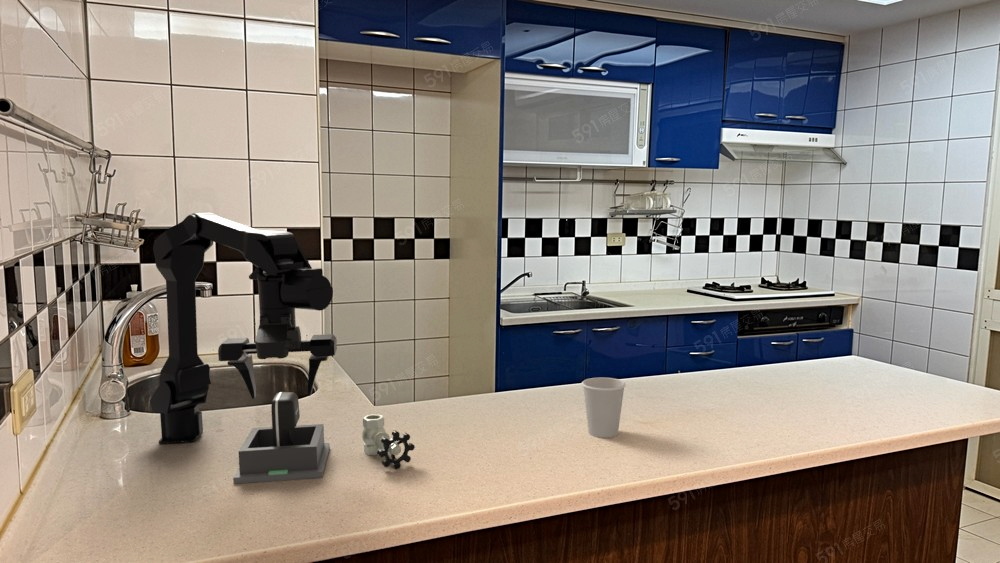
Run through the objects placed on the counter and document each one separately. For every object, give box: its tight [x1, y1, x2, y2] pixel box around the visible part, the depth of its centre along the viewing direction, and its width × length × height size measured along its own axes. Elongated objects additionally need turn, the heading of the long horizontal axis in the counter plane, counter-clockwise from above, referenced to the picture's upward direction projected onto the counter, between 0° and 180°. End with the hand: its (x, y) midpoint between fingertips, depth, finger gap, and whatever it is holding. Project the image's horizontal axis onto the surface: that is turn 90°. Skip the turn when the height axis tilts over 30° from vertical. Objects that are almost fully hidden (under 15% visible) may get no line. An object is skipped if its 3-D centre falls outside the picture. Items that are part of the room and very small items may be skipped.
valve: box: [361, 413, 416, 470], centre depth 124 cm, size 7×7×12 cm
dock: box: [232, 423, 330, 484], centre depth 122 cm, size 14×14×5 cm
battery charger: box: [270, 391, 301, 447], centre depth 121 cm, size 7×4×11 cm, turn 8°
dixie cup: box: [581, 376, 627, 439], centre depth 136 cm, size 8×8×10 cm
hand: (281, 396), depth 121 cm, fingers open, 9 cm apart
